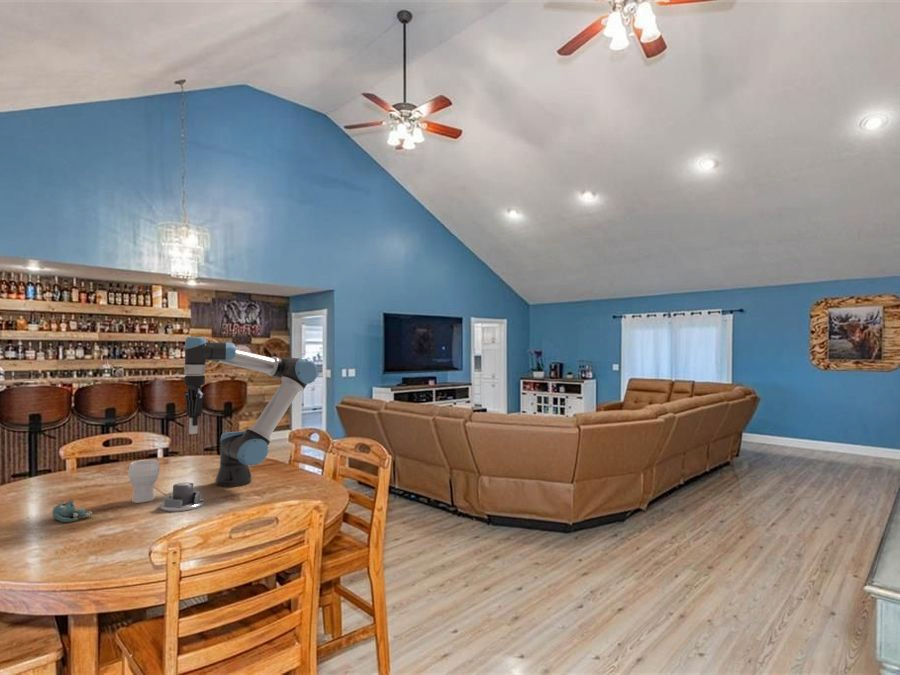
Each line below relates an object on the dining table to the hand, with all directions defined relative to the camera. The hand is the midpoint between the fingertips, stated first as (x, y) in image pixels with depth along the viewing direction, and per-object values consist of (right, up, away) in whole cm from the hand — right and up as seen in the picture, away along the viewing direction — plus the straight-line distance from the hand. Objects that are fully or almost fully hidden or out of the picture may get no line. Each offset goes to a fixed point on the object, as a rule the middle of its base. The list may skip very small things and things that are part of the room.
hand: (193, 433), depth 206 cm
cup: (-19, -26, -2) cm, 32 cm away
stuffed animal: (-30, -26, -25) cm, 47 cm away
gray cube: (0, -25, -9) cm, 27 cm away
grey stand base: (0, -26, -9) cm, 28 cm away
